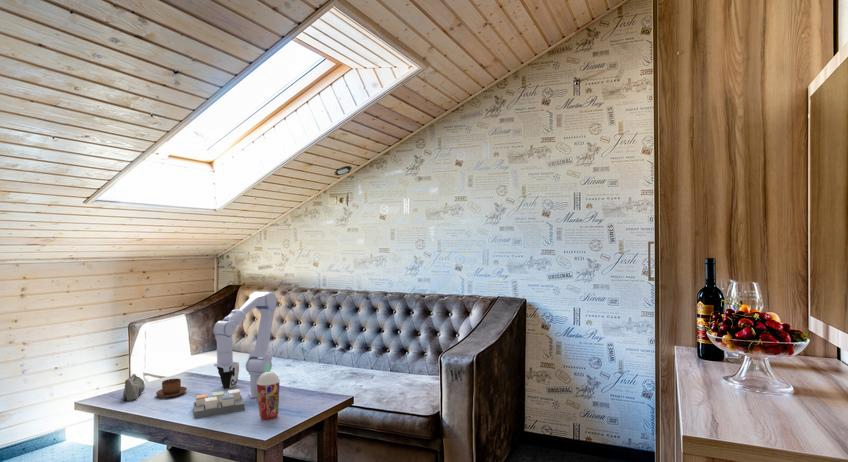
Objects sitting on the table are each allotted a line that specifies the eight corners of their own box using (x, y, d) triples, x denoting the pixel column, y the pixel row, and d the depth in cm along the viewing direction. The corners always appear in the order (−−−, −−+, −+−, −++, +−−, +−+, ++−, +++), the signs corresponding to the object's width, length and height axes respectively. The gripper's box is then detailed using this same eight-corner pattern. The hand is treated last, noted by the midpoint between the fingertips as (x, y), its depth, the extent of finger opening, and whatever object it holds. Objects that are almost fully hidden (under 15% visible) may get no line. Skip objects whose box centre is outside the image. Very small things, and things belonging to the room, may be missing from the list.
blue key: (232, 403, 203) (232, 394, 203) (233, 406, 199) (233, 397, 199) (221, 404, 201) (221, 395, 201) (222, 408, 197) (222, 398, 197)
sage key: (223, 400, 207) (223, 391, 207) (224, 403, 203) (224, 394, 203) (212, 401, 205) (212, 392, 205) (213, 404, 201) (212, 395, 201)
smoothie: (280, 420, 188) (279, 366, 188) (257, 423, 185) (255, 368, 186) (280, 412, 196) (279, 360, 196) (257, 415, 193) (256, 362, 194)
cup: (233, 389, 228) (232, 366, 228) (216, 388, 229) (216, 366, 229) (243, 383, 236) (242, 362, 236) (227, 383, 237) (226, 361, 237)
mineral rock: (140, 390, 229) (139, 368, 229) (157, 393, 225) (157, 370, 225) (113, 399, 217) (112, 376, 217) (131, 402, 213) (130, 378, 213)
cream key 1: (216, 405, 200) (216, 396, 200) (217, 408, 197) (217, 399, 197) (205, 407, 198) (204, 398, 199) (205, 410, 195) (205, 401, 195)
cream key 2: (239, 397, 210) (238, 388, 210) (240, 400, 206) (240, 391, 206) (228, 399, 208) (228, 390, 208) (229, 402, 204) (229, 393, 204)
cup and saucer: (156, 393, 225) (156, 379, 225) (186, 389, 230) (186, 375, 230) (155, 401, 214) (155, 386, 214) (186, 396, 219) (186, 382, 219)
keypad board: (241, 400, 211) (240, 394, 211) (244, 409, 200) (244, 403, 200) (193, 408, 203) (193, 402, 203) (194, 418, 192) (194, 411, 192)
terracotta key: (207, 402, 204) (207, 393, 204) (208, 405, 201) (207, 396, 201) (196, 404, 203) (195, 395, 203) (196, 407, 199) (196, 398, 199)
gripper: (212, 349, 205) (213, 382, 205) (214, 356, 192) (215, 392, 192) (231, 347, 208) (232, 380, 208) (234, 354, 195) (235, 389, 195)
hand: (225, 386), depth 200 cm, fingers open, 7 cm apart
